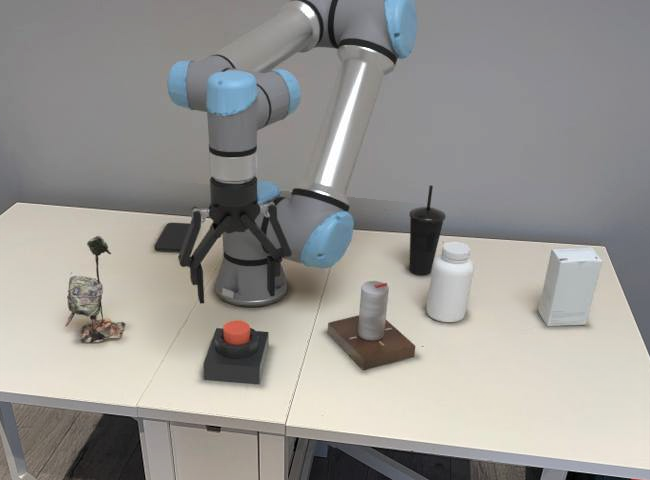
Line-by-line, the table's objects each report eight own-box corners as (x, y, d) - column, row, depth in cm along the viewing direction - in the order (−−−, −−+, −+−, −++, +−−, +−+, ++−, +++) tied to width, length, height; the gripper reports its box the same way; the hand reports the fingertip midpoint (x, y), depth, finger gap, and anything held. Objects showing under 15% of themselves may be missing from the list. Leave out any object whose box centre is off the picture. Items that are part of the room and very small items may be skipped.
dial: (366, 343, 143) (370, 294, 137) (352, 330, 146) (356, 282, 141) (389, 337, 144) (394, 289, 138) (375, 324, 148) (380, 277, 142)
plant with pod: (76, 320, 153) (61, 228, 142) (131, 325, 152) (120, 232, 141) (61, 342, 147) (44, 247, 136) (118, 347, 146) (106, 251, 134)
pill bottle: (465, 325, 153) (477, 257, 144) (425, 321, 154) (434, 253, 146) (465, 306, 159) (476, 240, 151) (426, 302, 160) (435, 236, 152)
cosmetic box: (575, 311, 158) (593, 245, 149) (586, 327, 153) (605, 259, 144) (535, 312, 157) (550, 246, 149) (545, 327, 152) (561, 260, 144)
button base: (217, 344, 147) (215, 317, 143) (268, 348, 146) (268, 321, 142) (204, 380, 137) (202, 352, 133) (259, 384, 136) (259, 356, 132)
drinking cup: (442, 268, 173) (455, 184, 162) (429, 281, 168) (441, 195, 157) (411, 260, 177) (421, 176, 165) (397, 273, 171) (406, 187, 160)
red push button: (226, 330, 140) (225, 319, 139) (252, 332, 140) (251, 321, 138) (221, 344, 136) (220, 333, 135) (247, 346, 136) (247, 335, 134)
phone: (196, 223, 191) (183, 249, 178) (196, 226, 191) (184, 252, 179) (167, 222, 192) (152, 247, 179) (167, 225, 192) (153, 250, 180)
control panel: (327, 333, 150) (328, 321, 149) (375, 321, 154) (376, 310, 152) (363, 370, 140) (364, 358, 138) (414, 357, 143) (415, 345, 142)
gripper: (300, 162, 126) (297, 279, 138) (155, 173, 122) (165, 292, 134) (312, 178, 120) (308, 299, 132) (160, 190, 116) (169, 314, 128)
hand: (236, 296), depth 133 cm, fingers open, 12 cm apart
